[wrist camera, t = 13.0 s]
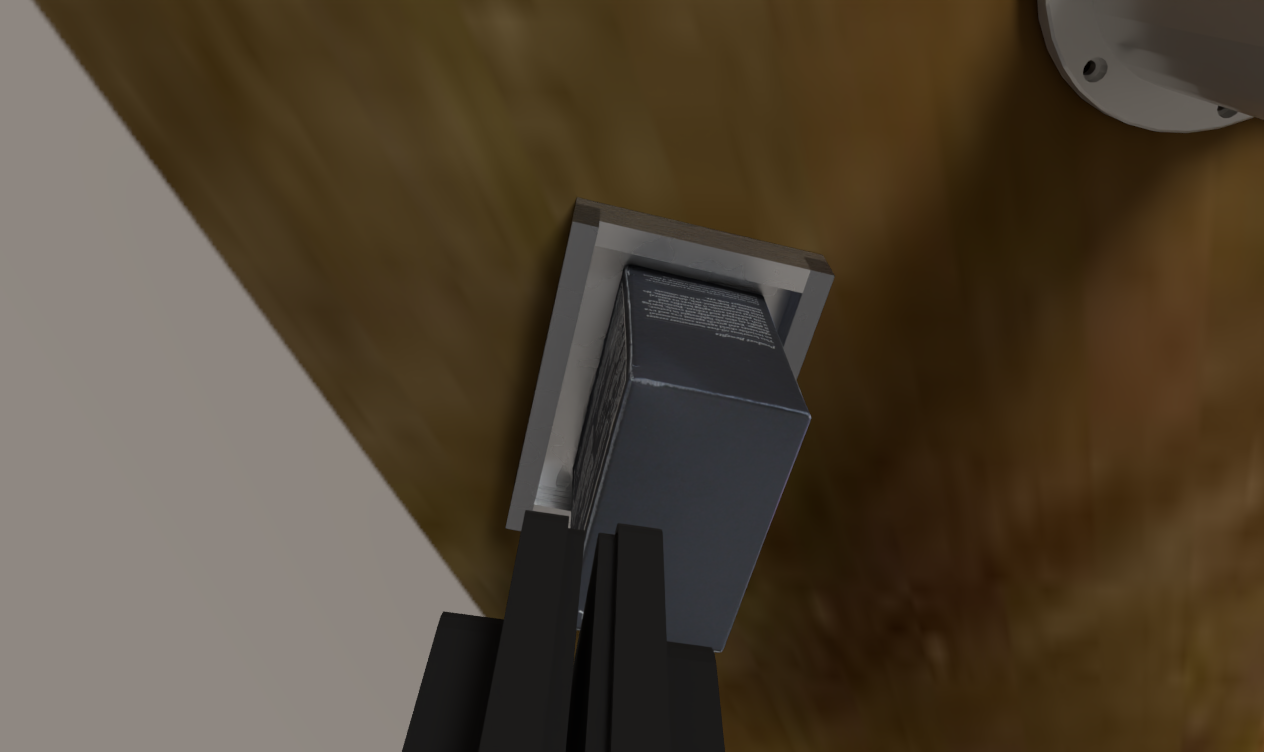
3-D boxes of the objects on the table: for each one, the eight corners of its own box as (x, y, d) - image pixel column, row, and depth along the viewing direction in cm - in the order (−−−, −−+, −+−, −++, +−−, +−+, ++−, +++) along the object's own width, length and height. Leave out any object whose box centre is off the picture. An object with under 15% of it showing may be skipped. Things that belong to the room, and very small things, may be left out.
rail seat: (822, 255, 37) (839, 283, 34) (725, 529, 44) (732, 571, 41) (577, 197, 36) (572, 221, 33) (513, 487, 43) (505, 528, 40)
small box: (706, 497, 42) (728, 664, 33) (570, 470, 41) (552, 632, 32) (774, 293, 37) (823, 419, 28) (622, 259, 37) (620, 376, 27)
